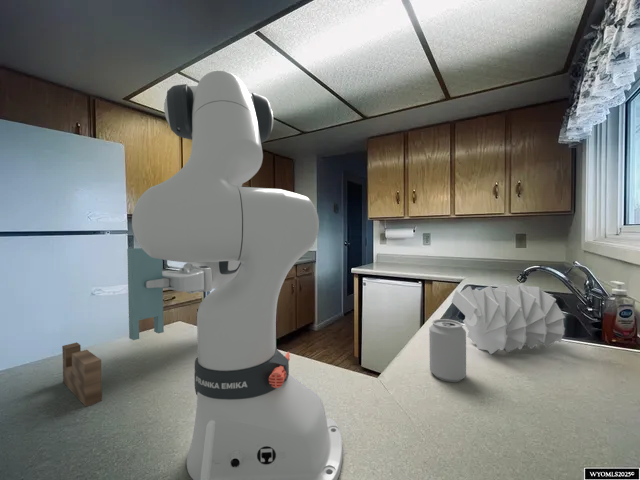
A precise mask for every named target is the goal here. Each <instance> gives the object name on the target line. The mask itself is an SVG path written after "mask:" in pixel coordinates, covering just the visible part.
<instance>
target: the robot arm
mask: <svg viewBox="0 0 640 480" xmlns="http://www.w3.org/2000/svg"><path fill="white" fill-rule="evenodd" d="M163 109H164V110H163V111H164V115H165V119H166V122H167V123H168V126H169V127H170V130H171V132H173V134H175V135H176V136H177V137H180V138H183V139H187V140H192V141H191V151H190V155H189V158H188V159H187V161H186V163H185V164H184V165H183V167H182V168H180V169H179V171H177V172H176V173H175V174H174V175H173V176H171V177H169V178H168V179H166V180H165V181H162V182H160V183H158V184H156V185H153V186H151V187H149V188H147V190H145V191H144V192H143V193H142V194H141V195H140V197H139V198H138V199H137V202H136V203H135V205H134V208H133V211H132V215H131V216H132V217H131V226H132V232H133V235H134V239H135V240H136V242H137V244H138V246H139V248H142V249H143V250H144V251H145V252H146V253H147V254H148V255H149V256H151V257H152V258H156V259H162V261H163V260H164V261H168V262H169V261H170V262H177V263H185V264H184V265H183V267H181V268H180V269H179V270H177V271H175V270H164V271H163V270H162V277H163V279H158V280H148V281H145V282H144V284H145V285H144V287H145V288H154V287H155V288H156V287H163V289H165V290H167V289H168V290H172V291H179V292H186V293H188V294H195V293H201V292H203V293H205V292H206V293H207V292H210V293H208V294H207V295H206V296H205V297H204V298H203V300H202V301H201V302H200V304H199V305H198V309H197V313H196V326H197V327H196V331H197V335H196V336H197V340H196V341H197V356H196V358H195V360H194V374H193V375H194V391H195V394H196V408H195V419H194V427H193V433H192V438H191V443H190V445H189V446H190V448H189V449H188V453H187V457H186V468H187V472H188V474H189V476H190V478H191V479H192V480H338V478H339V477H340V474H341V470H342V464H343V457H344V445H343V438H342V437H343V436H342V432H341V429H340V427H339V425H338V424H337V422H336V421H335V420H334V419H333V418H330V417H327V414H326V410H325V406H324V404H323V401H322V398H321V396H319V394H318V393H316V392H315V391H313V390H312V389H311V388H310V387H308V386H306V385H305V384H304V383H303V382H301V381H299V380H298V379H296V378H295V377H294V376H293V375H291V374H290V364H289V363H290V351H287V352H286V354H285V355H284V354H282V353H281V352H280V351H279V350H278V348H277V347H276V323H277V322H276V321H277V306H278V300H279V297H280V296H279V295H280V292H281V289H282V286H283V284H284V282H285V279H286V277H287V275H288V274H289V272H290V271H291V269H292V268H293V267H294V265H296V263H297V262H298V261H299V260H300V258H302V257H303V256H304V255H305V254H307V253H308V252H309V251H310V250H311V248H312V247H313V245H314V244H315V242H316V240H317V238H318V234H319V229H320V219H319V215H318V214H319V213H318V212H317V209H316V207H315V205H314V203H313V201H312V200H311V199H310V198H309V197H308V196H306V195H302V194H300V193H298V192H297V193H296V192H293V191H289V190H286V189H282V188H268V187H267V188H266V187H253V186H251V187H250V186H243V184H244V183H246V182H248V181H249V180H251V179H252V178H253V177H254V176H255V175H256V174H257V173H258V172H259V170H260V168H261V167H262V164H263V159H264V153H263V147H262V143H265V142H266V141H267V140H268V139H269V138H270V137H271V133H272V132H273V131H272V130H273V127H274V115H273V114H274V113H273V110H272V106H271V103H270V102H269V100H268V98H266V96H262V95H261V94H257V93H255V92H251V93H249V91H248V89H247V87H246V85H245V83H244V82H243V81H242V80H241V79H240V78H239V77H238V76H236V75H235V74H233V73H231V72H229V71H225V70H214V71H211V72H208V73H206V74H204V76H202V77H201V78H200V80H199V81H198V83H197V84H196V85H190V86H189V85H188V84H187V83H185V84H184V83H183V84H176V85H173V86H171V87H170V88H169V89H168V90H167V91H166V96H165V98H164V104H163ZM213 289H214V290H213ZM212 290H213V291H212Z"/></svg>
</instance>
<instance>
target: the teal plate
mask: <svg viewBox="0 0 640 480" xmlns="http://www.w3.org/2000/svg"><path fill="white" fill-rule="evenodd" d="M126 250H127V287H128V288H127V294H128V295H127V296H128V339H130V340H132V341H135V340H136V341H137V340H139V339H140V321H142V320H146V319H151V318H153V332H154V333H156V334H162V333H163V334H164V333H165V331H164V329H165V328H164V292H163V291H164V290H163V289H164V288H163V287H156V288H155V287H154V288H145V287H144V285H145V284H144V282H145V281H148V280H158V279H163V277H162V271H163V259H156V258H152V257H151V256H149V255H148V254H147V253H146V252H145V251H144V250H143V249H142V248H141V247H138V248H137V247H135V248H127V249H126Z"/></svg>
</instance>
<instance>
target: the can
mask: <svg viewBox="0 0 640 480" xmlns="http://www.w3.org/2000/svg"><path fill="white" fill-rule="evenodd" d="M431 323H432V324H431V325H430V327H429V337H428V338H429V371H430V372H431V373H432V374H433V375H434V377H435V378H437V379H439V380H441V381H444V382H450V383H457V382H461V381H462V380H463V379H464V378H466V376H467V332H466V330H465V329H464V328H463V326H464V325H463V322H459V321H457V320H453V319H447V318H439V319H437V318H436V319H434V320H433V321H432V322H431Z"/></svg>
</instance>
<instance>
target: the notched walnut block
mask: <svg viewBox="0 0 640 480" xmlns="http://www.w3.org/2000/svg"><path fill="white" fill-rule="evenodd" d="M81 347H82V346H81V344H80V343H78V342H73V343H69V344H64V345H62V347H61V348H62V382H63V383H64V385H65V386H66V387H67V388H68V389H69V390H70V391H71V392H72V393H73V395H74V396H75V397H76V398H77V399H78V400H79V401H80V402H81V403H82V404H83V405H84V407H85V408H86V407H89V406H92V405H94V404H97V403H100V402H101V401H103V396H102V395H103V394H102V392H103V390H102V382H103V381H102V359H101V358H99V357H98V356H96V354H94V353H93V352H91V351H90V350H88V349H84V350H81V349H82V348H81Z"/></svg>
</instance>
